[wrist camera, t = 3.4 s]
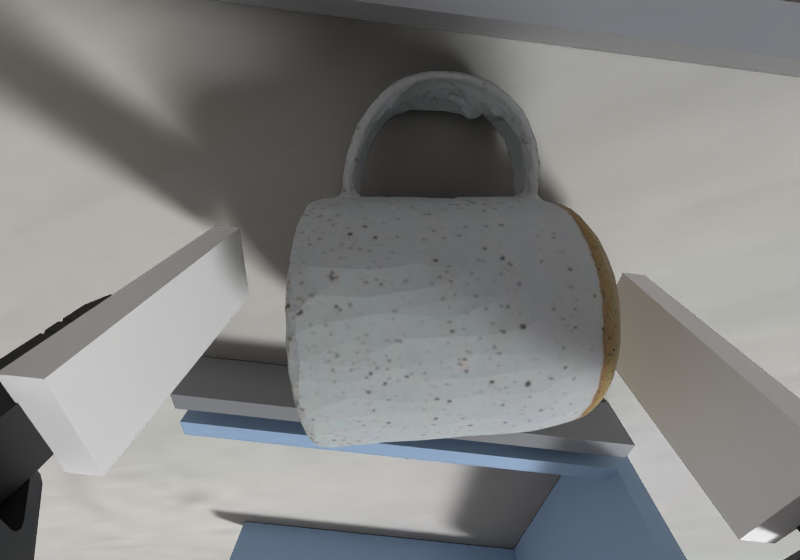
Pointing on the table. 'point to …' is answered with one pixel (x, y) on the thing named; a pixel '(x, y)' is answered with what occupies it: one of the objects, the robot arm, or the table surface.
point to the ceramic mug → (446, 296)
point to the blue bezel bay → (556, 519)
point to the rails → (549, 24)
